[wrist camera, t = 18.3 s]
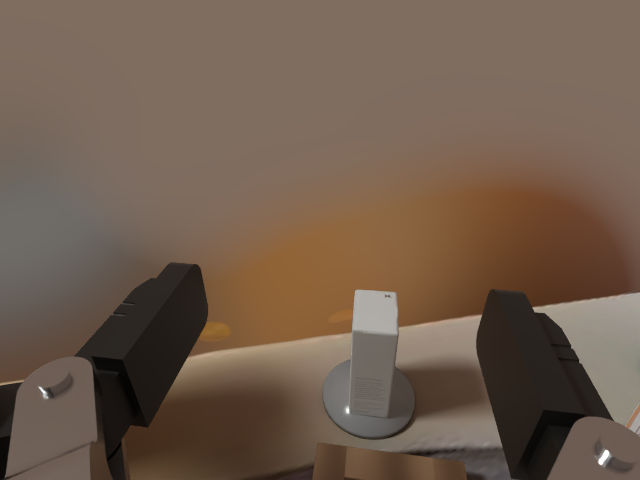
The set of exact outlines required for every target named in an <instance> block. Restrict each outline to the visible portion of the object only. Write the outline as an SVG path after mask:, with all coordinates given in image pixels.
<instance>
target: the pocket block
mask: <svg viewBox="0 0 640 480" xmlns="http://www.w3.org/2000/svg"><path fill="white" fill-rule="evenodd" d="M312 480H467V476H466V470H465V465H464V462H459V461H452V460H444V459H437V458H429V457H422V456H414V455H407V454H399V453H392V452H384V451H377V450H369V449H362V448H354V447H347V446H339V445H332V444H324V443H318V444H317V451H316V457H315V464H314V471H313V477H312Z"/></svg>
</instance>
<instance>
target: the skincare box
mask: <svg viewBox="0 0 640 480" xmlns="http://www.w3.org/2000/svg"><path fill="white" fill-rule="evenodd" d="M398 336H399V331H398V307H397V295H396V293H395V292H384V291H371V290H356V291H355V298H354V310H353V326H352V343H351V365H350V392H349V413H350V414H355V415H364V416H373V417H382V418H388V416H389V409H390V400H391V392H392V384H393V377H394V369H395V361H396V352H397V344H398Z"/></svg>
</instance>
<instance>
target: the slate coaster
mask: <svg viewBox="0 0 640 480" xmlns="http://www.w3.org/2000/svg"><path fill="white" fill-rule="evenodd" d="M350 365H351V359H350V360H347V361H345V362H343V363H341V364H339V365H338V366H336V367H335V368H334V369H333V370H332V371H331V372H330V373H329V374H328V376H327V378H326V380H325V382H324V386H323V402H324V407H325V409H326V412H327V414H328V415H329V417H330V418H331V420H332V421H333V422H334V423H335V424H336V425H337V426H338V427H339V428H341V429H342V430H343V431H345V432H347V433H349V434H351V435H353V436H356V437H359V438H364V439H383V438H387V437H390V436H393V435H395V434H397V433H398V432H400V431H401V430H402V429H403V428H405V427H406V425H407V424H408V423H409V421H410V420H411V418H412V415H413V412H414V406H415V395H414V391H413V388H412V386H411V383H410V382H409V380H408V379H407V377H406V376H405V375H404V374H403V373H402V372H401V371H400V370H399V369H397V368H396V367H395V369H394V377H393V384H392V392H391V400H390V409H389V416H388V418H382V417H373V416H364V415H355V414H350V413H349V392H350Z"/></svg>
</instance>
